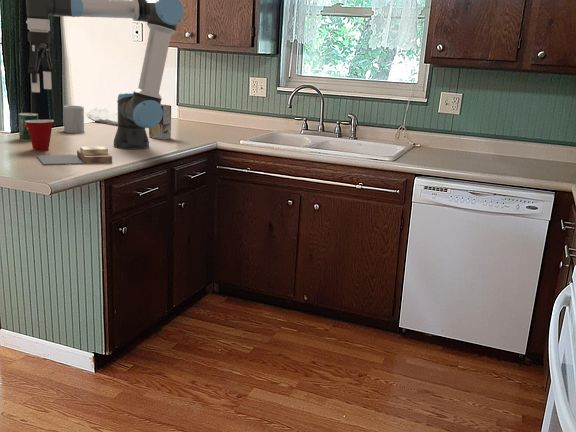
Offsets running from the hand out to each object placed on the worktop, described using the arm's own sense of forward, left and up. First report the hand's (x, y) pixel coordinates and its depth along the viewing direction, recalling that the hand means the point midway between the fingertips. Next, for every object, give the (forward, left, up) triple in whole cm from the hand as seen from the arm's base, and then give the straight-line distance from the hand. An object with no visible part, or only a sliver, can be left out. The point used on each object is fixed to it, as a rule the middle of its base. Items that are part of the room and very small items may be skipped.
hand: (42, 90), depth 225 cm
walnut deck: (-17, +10, -25) cm, 31 cm away
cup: (-23, -60, -25) cm, 69 cm away
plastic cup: (-1, -13, -25) cm, 28 cm away
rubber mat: (-4, +10, -25) cm, 27 cm away
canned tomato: (0, -38, -25) cm, 46 cm away
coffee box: (-59, -39, -25) cm, 75 cm away
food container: (-46, -89, -25) cm, 103 cm away
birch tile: (-17, +10, -22) cm, 29 cm away
